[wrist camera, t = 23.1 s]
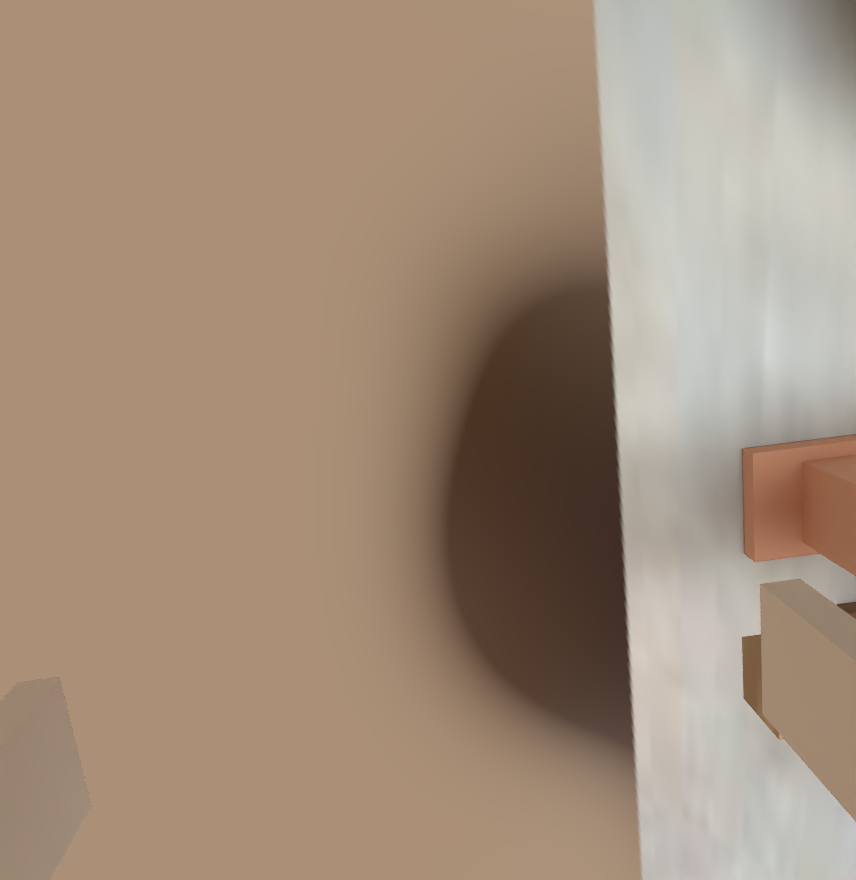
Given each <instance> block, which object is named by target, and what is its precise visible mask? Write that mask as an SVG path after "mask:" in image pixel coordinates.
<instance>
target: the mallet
mask: <svg viewBox="0 0 856 880" xmlns="http://www.w3.org/2000/svg"><path fill="white" fill-rule="evenodd" d="M742 652H743V690H744V699H745V700H746V702H747V703H748V704H749V705H750V706H751V707H752V709H753V710H754V711H755V712H756V713H757V714H758V716H759V717H760V718H761V719H762V720H763V721H764V723H765V724H766V725H767V726H768V727H769V728H770V730H771V731H772V732H773V733H774V734H775V735H776V737H777V738H778V739H784V738H783V737H782V736H781V735H780V734H779V733H778V731H777V730H776V729H775V728H774V727H773V726H772V724H771V723H770V722H769V721H768V720H767V719H766V718H765V716H764V715H763V714H762V662H761V635H754V636H747V637H742Z"/></svg>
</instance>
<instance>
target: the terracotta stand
mask: <svg viewBox="0 0 856 880" xmlns="http://www.w3.org/2000/svg"><path fill="white" fill-rule="evenodd" d="M743 496H744V543H745V555H746V556H748V557H749V558H750V559H752V560H753V561H754V562H758V561H766V560H773V559H781V558H789V557H796V556H804V555H811V554H819V553H820V554H822V555H824V556H825V557H827V558H828V559H830V560H831V561H833V562H835V563H836V564H838V565H839V566H841V567H843V568H844V569H846V570H847V571H849V572H851V573H852V574H854V575H855V576H856V434H855V435H847V436H839V437H831V438H823V439H815V440H808V441H800V442H792V443H784V444H776V445H768V446H760V447H752V448H744V449H743Z"/></svg>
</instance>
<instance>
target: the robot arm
mask: <svg viewBox="0 0 856 880" xmlns="http://www.w3.org/2000/svg"><path fill="white" fill-rule="evenodd" d="M760 601H761V662H762V714H763V715H764V716H765V718H766V719H767V720H768V721H769V722H770V723H771V724H772V726H773V727H774V728H775V729H776V730H777V731H778V733H779V734H780V735H781V736H782V737H783V738H784V739H785V741H786V742H787V743H788V744H789V745H790V746H791V748H792V749H793V750H794V751H795V752H796V753H797V754H798V756H799V757H800V758H801V759H802V760H803V761H804V762H805V764H806V765H807V766H808V767H809V768H810V769H811V771H812V772H813V773H814V774H815V775H816V776H817V777H818V779H819V780H820V781H821V782H822V783H823V784H824V785H825V787H826V788H827V789H828V790H829V791H830V792H831V794H832V795H833V796H834V797H835V798H836V799H837V800H838V802H839V803H840V804H841V805H842V806H843V807H844V809H845V810H846V811H847V812H848V813H849V814H850V815H851V817H852V818H853V819H854V820H855V821H856V619H855V618H854V617H852V616H851V615H849V614H848V613H847V612H845V611H844V610H842V609H841V608H840V607H838V606H837V605H835V604H834V603H833V602H831V601H830V600H829V599H827V598H826V597H824V596H823V595H822V594H820V593H819V592H817V591H816V590H815V589H813V588H812V587H810V586H809V585H808V584H806V583H805V582H803V581H802V580H801V579H796V580H788V581H781V582H773V583H765V584H760ZM91 807H92V805H91V801H90V797H89V793H88V789H87V785H86V781H85V777H84V773H83V769H82V765H81V761H80V757H79V753H78V749H77V745H76V741H75V737H74V733H73V729H72V725H71V721H70V717H69V713H68V709H67V705H66V701H65V697H64V693H63V689H62V685H61V681H60V677H54V678H47V679H39V680H31V681H24V682H17V683H16V684H15V686H14V687H13V688H12V689H11V690H10V691H9V692H8V693H7V694H6V695H5V696H4V698H3V699H2V700H1V701H0V880H51V878H52V876H53V874H54V872H55V871H56V869H57V867H58V865H59V864H60V862H61V860H62V858H63V856H64V855H65V853H66V851H67V849H68V848H69V846H70V844H71V842H72V841H73V839H74V837H75V835H76V833H77V831H78V830H79V828H80V826H81V824H82V823H83V821H84V819H85V817H86V816H87V814H88V812H89V810H90V809H91Z"/></svg>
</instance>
